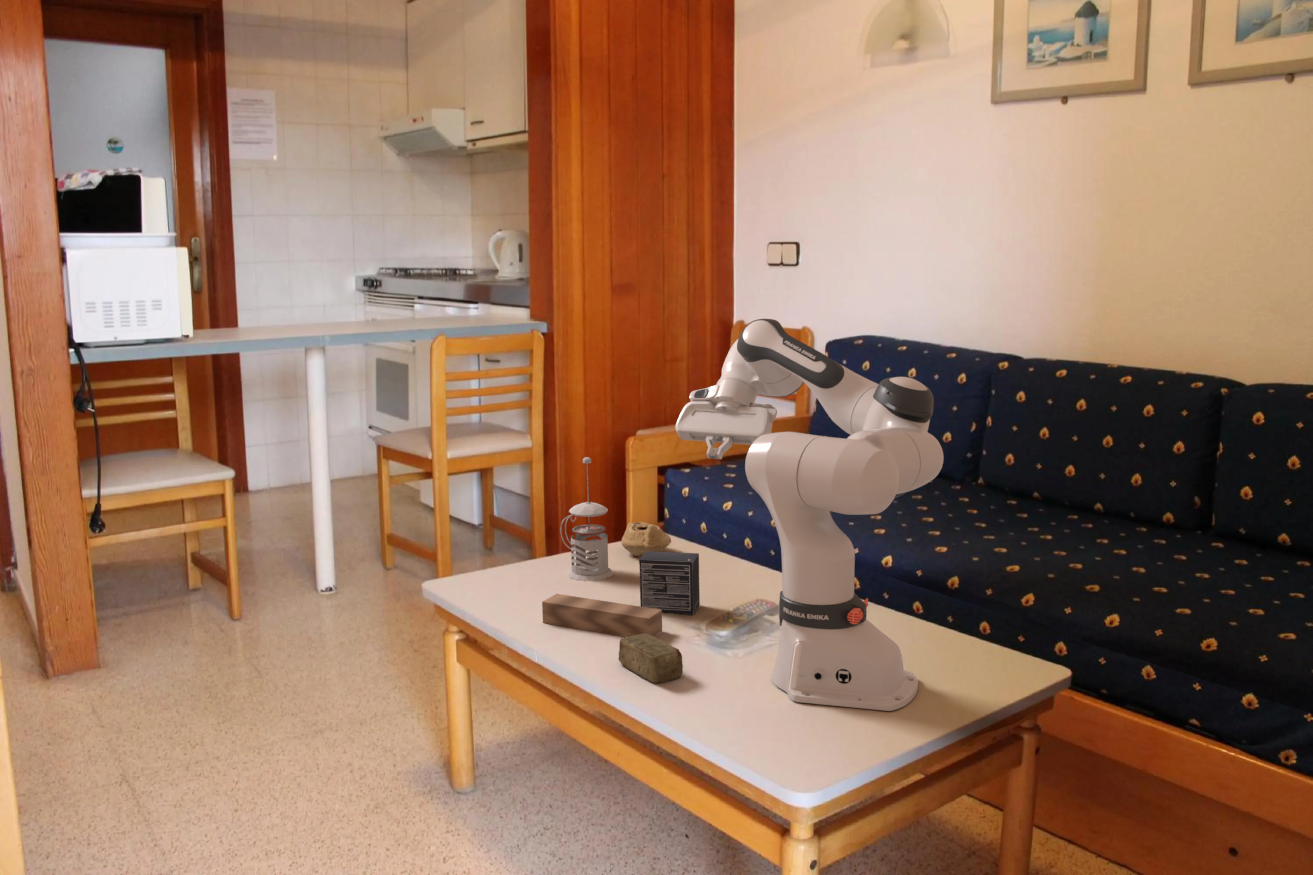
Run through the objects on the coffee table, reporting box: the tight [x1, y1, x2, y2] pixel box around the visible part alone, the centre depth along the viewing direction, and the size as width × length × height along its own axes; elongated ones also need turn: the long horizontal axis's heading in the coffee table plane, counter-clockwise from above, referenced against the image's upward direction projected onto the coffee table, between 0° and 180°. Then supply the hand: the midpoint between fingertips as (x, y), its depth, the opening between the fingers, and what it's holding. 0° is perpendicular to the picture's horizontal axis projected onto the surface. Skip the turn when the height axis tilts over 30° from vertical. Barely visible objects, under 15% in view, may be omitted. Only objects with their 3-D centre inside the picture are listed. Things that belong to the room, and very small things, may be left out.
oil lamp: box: [621, 521, 672, 558], centre depth 240 cm, size 11×15×8 cm
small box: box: [638, 551, 701, 616], centre depth 203 cm, size 11×6×10 cm, turn 77°
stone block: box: [618, 633, 684, 684], centre depth 174 cm, size 6×12×5 cm, turn 35°
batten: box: [541, 593, 663, 638], centre depth 194 cm, size 22×5×4 cm, turn 63°
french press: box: [559, 456, 614, 582], centre depth 225 cm, size 10×12×25 cm
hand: (713, 457), depth 218 cm, fingers closed
